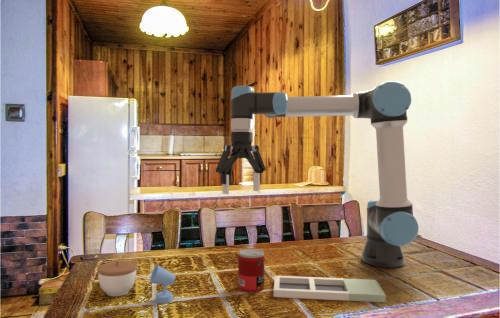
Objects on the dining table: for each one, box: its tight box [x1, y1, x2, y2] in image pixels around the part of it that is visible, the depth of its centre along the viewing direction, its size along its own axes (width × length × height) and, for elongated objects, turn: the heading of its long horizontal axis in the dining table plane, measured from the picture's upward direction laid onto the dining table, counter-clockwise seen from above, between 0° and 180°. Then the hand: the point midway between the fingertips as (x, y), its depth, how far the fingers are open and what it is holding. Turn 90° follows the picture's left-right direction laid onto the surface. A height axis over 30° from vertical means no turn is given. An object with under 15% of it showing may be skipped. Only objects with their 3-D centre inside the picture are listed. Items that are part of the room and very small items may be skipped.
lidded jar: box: [97, 259, 138, 297], centre depth 108 cm, size 11×11×9 cm
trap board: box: [273, 275, 387, 303], centre depth 109 cm, size 31×12×2 cm, turn 84°
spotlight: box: [149, 264, 176, 304], centre depth 102 cm, size 5×10×7 cm
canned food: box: [237, 248, 266, 293], centre depth 112 cm, size 8×8×11 cm
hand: (241, 192), depth 128 cm, fingers open, 13 cm apart
